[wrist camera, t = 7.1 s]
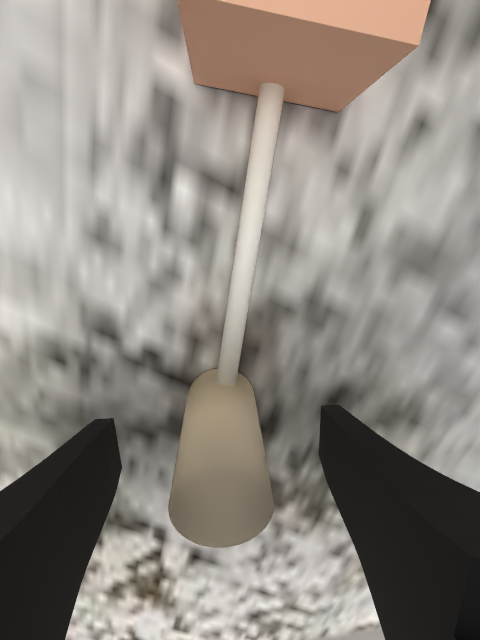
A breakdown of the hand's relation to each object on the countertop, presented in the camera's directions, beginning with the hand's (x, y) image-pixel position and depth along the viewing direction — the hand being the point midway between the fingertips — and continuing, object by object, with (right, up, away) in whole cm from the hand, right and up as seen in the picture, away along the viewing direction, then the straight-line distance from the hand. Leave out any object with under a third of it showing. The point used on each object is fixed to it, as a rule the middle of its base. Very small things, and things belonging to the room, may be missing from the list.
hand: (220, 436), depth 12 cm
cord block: (+1, +7, -1) cm, 7 cm away
